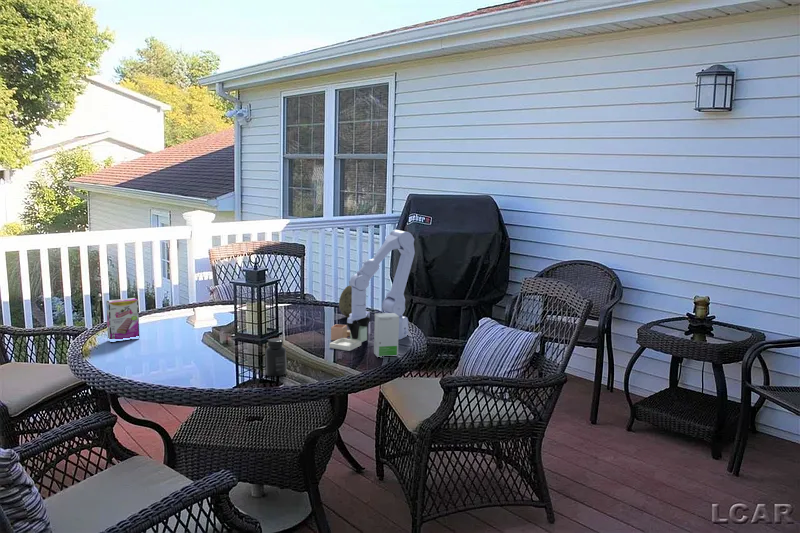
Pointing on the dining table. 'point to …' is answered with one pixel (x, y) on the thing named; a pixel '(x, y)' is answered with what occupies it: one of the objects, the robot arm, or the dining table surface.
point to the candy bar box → (122, 318)
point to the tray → (345, 344)
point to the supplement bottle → (275, 358)
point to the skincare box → (386, 334)
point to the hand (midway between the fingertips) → (358, 337)
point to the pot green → (361, 334)
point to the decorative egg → (346, 301)
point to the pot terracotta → (338, 332)
